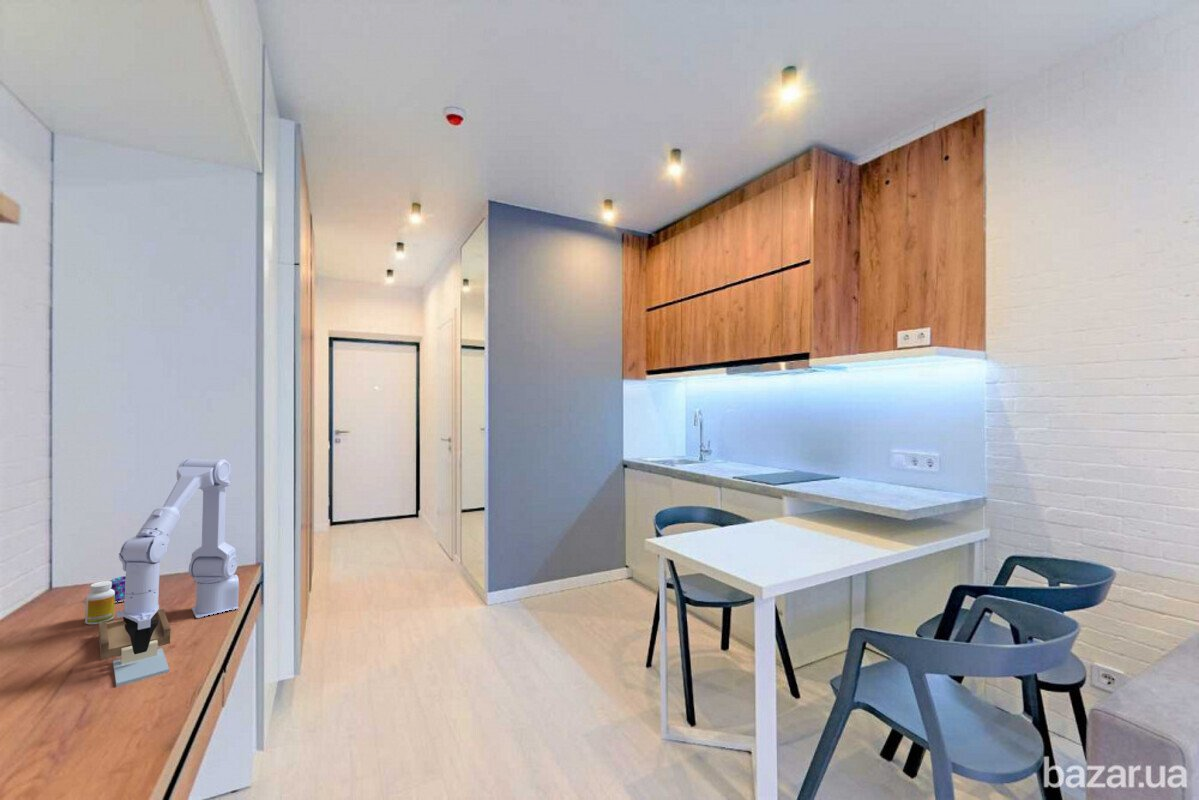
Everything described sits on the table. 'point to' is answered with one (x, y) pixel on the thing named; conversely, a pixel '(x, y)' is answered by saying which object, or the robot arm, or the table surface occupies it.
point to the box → (118, 638)
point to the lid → (139, 664)
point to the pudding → (119, 588)
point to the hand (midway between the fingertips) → (139, 648)
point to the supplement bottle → (100, 603)
